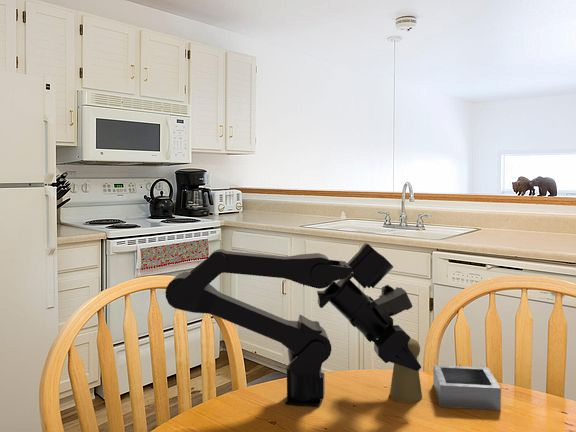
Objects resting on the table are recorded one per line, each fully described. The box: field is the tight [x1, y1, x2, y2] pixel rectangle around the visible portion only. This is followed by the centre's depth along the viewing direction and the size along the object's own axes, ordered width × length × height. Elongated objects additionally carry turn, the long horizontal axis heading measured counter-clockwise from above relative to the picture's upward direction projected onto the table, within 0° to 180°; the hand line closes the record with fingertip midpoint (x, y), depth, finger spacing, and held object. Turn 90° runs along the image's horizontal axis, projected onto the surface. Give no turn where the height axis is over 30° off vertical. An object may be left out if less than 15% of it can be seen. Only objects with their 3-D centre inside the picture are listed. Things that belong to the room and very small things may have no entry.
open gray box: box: [433, 364, 502, 411], centre depth 97 cm, size 10×10×4 cm
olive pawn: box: [389, 338, 423, 403], centre depth 98 cm, size 6×6×11 cm
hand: (413, 361), depth 98 cm, fingers open, 8 cm apart
